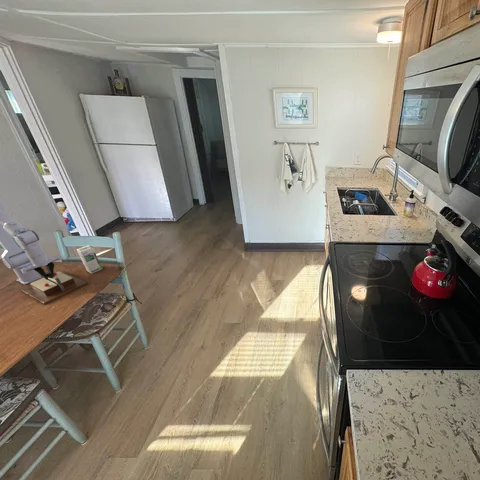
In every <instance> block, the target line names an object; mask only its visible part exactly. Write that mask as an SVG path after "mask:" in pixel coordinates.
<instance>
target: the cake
mask: <svg viewBox="0 0 480 480" xmlns="http://www.w3.org/2000/svg"><path fill="white" fill-rule="evenodd" d="M61 272H62V271H56V272H54V277H53V278H54V279H55V278H59V280H60V281H61V283H62V285H63V287H64V288H65V287H68V286H70V285H72V284H74V283H75V282H74V280H73V278H72V277H70V276H68V275H66V274H63V273H61ZM29 284H30V285H31V286H32V288H33V289H35V290H36V291H38V292H40V293H42V294H44V295H45V296H48V295H50V294H52V293H55V292H57V291H59V290H60V289H59V287H58V285H57V284H55V283H53V282H51V281H49V280H46V279H45V278H40V279H37V280H35V281H33V282H30V283H29ZM30 285H29V286H30Z"/></svg>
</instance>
